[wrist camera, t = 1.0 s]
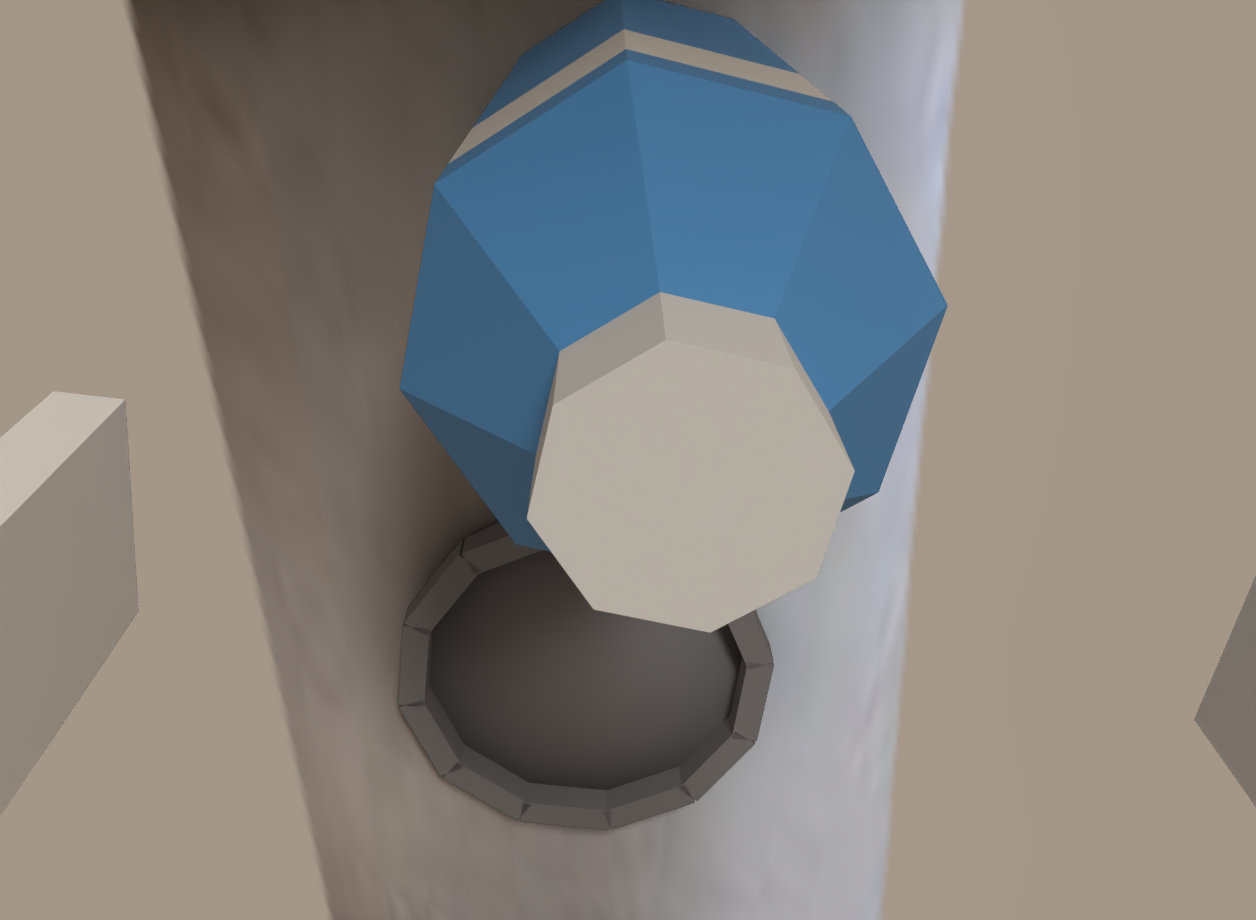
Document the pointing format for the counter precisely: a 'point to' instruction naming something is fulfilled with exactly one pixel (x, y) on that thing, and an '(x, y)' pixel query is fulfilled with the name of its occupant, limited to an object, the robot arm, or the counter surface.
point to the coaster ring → (571, 692)
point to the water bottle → (668, 314)
